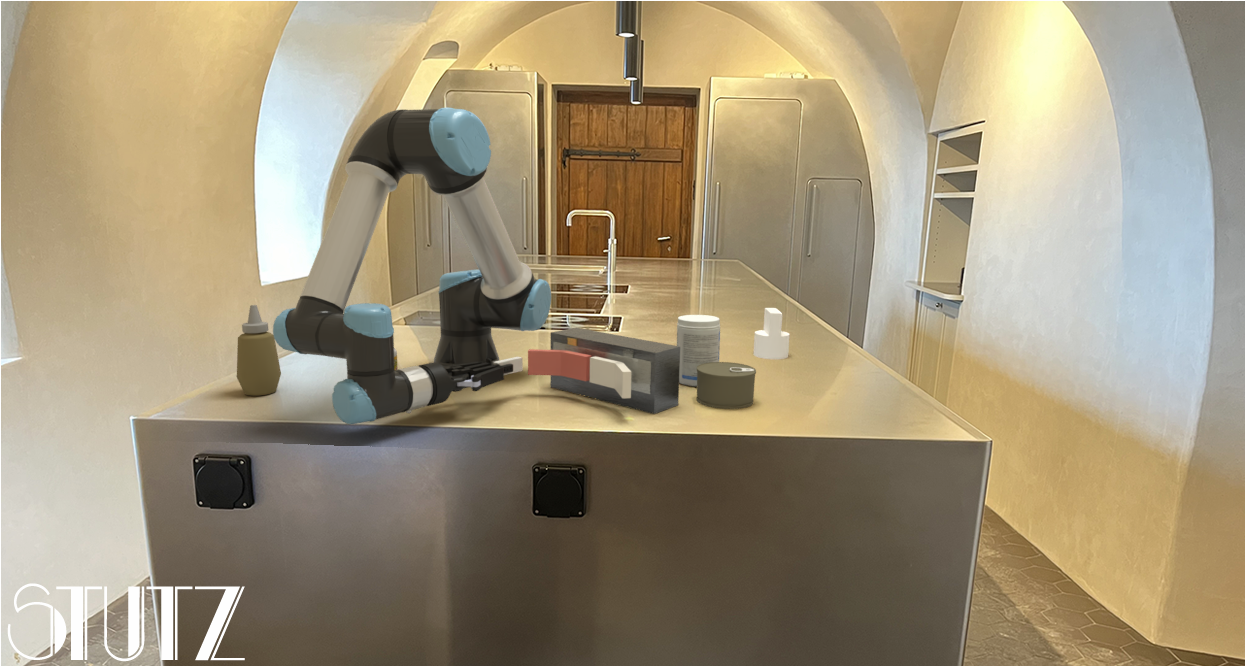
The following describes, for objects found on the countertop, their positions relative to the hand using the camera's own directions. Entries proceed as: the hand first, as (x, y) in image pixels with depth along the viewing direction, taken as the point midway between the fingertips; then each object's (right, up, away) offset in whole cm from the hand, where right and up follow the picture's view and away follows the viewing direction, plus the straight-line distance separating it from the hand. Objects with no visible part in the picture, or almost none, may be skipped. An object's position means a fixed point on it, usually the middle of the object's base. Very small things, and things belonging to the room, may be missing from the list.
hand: (519, 363), depth 147 cm
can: (+42, -8, +1) cm, 43 cm away
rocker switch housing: (+19, -7, +3) cm, 20 cm away
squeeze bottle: (-53, -6, +1) cm, 53 cm away
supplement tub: (+38, -5, +15) cm, 41 cm away
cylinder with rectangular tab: (+60, 0, +44) cm, 74 cm away
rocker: (+8, -3, +1) cm, 9 cm away
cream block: (+19, -4, -8) cm, 21 cm away
